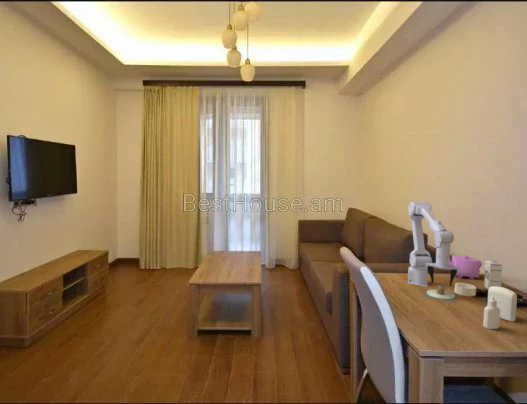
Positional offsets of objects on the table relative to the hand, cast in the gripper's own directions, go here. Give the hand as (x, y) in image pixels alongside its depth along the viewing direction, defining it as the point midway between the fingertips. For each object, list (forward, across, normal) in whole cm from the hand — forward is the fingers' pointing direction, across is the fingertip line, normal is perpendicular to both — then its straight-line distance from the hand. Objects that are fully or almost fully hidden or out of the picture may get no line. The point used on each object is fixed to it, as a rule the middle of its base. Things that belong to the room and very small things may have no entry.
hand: (441, 283), depth 162 cm
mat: (+6, 0, 0) cm, 6 cm away
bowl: (+6, +10, +11) cm, 16 cm away
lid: (+6, 0, 0) cm, 6 cm away
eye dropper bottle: (+7, +19, -27) cm, 34 cm away
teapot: (+6, +8, +44) cm, 45 cm away
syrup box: (+6, +22, +27) cm, 35 cm away
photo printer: (+7, +23, -13) cm, 27 cm away
